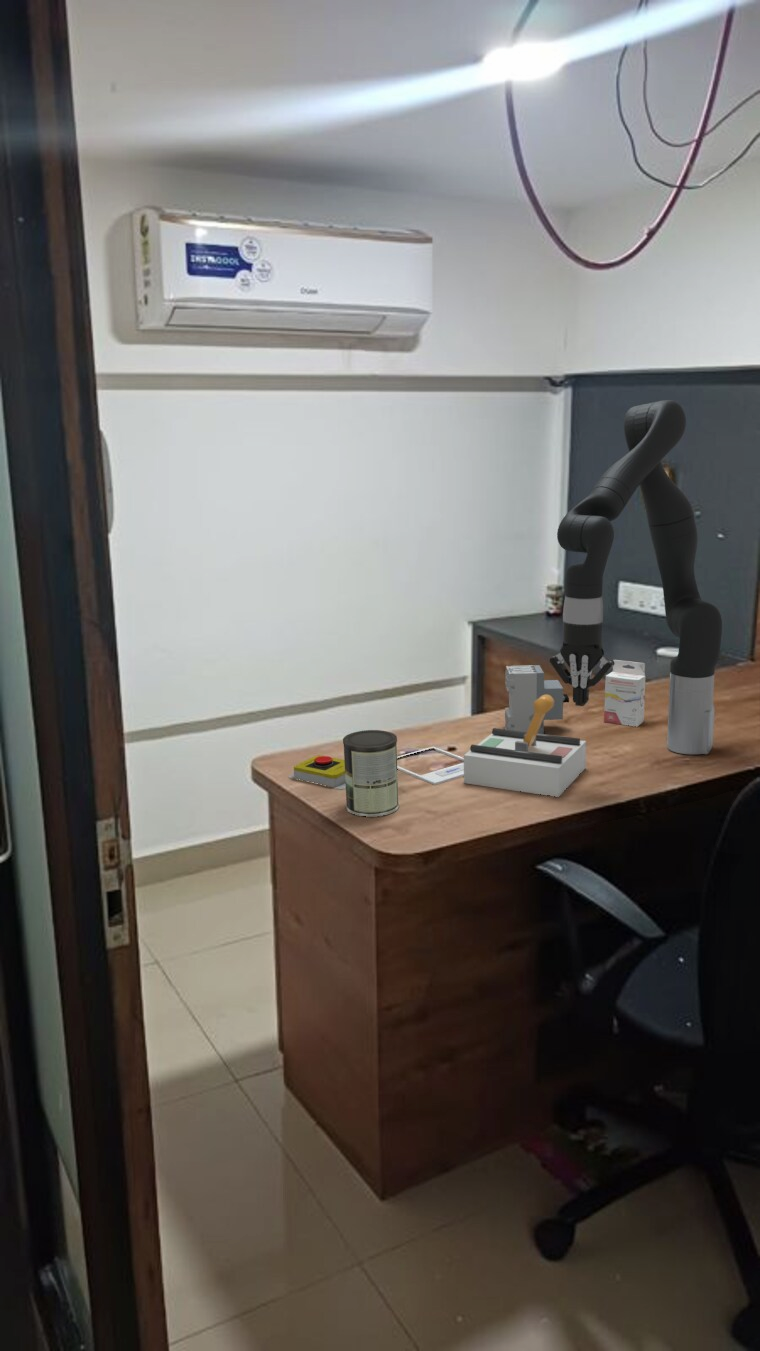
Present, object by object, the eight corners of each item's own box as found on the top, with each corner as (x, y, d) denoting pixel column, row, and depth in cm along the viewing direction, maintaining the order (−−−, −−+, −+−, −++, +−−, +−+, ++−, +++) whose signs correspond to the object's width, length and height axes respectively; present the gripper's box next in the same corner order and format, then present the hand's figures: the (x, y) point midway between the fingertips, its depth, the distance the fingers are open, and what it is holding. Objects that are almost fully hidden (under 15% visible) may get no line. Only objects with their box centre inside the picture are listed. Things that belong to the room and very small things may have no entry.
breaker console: (585, 768, 210) (586, 732, 208) (558, 797, 194) (558, 758, 192) (496, 756, 219) (496, 721, 217) (463, 783, 204) (463, 745, 202)
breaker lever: (537, 744, 206) (556, 698, 201) (531, 750, 203) (550, 703, 198) (523, 737, 207) (542, 691, 202) (517, 742, 204) (536, 696, 199)
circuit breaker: (569, 734, 232) (570, 672, 228) (508, 736, 233) (508, 673, 229) (564, 725, 239) (565, 664, 236) (505, 726, 240) (505, 666, 236)
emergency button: (313, 747, 217) (369, 759, 208) (314, 767, 218) (370, 778, 209) (285, 760, 209) (342, 772, 201) (286, 779, 210) (343, 792, 202)
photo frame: (434, 782, 203) (381, 760, 217) (434, 787, 203) (381, 765, 217) (487, 765, 211) (433, 745, 225) (487, 770, 212) (433, 750, 226)
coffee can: (334, 808, 192) (331, 739, 189) (372, 793, 200) (369, 726, 196) (373, 822, 185) (370, 750, 182) (410, 805, 193) (408, 736, 189)
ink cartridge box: (603, 722, 240) (604, 663, 237) (610, 717, 244) (611, 658, 241) (637, 727, 236) (639, 667, 232) (644, 721, 240) (646, 662, 236)
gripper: (622, 618, 193) (618, 704, 198) (556, 613, 199) (554, 696, 204) (611, 625, 187) (608, 713, 191) (543, 620, 193) (542, 706, 197)
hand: (580, 704), depth 197 cm, fingers closed
